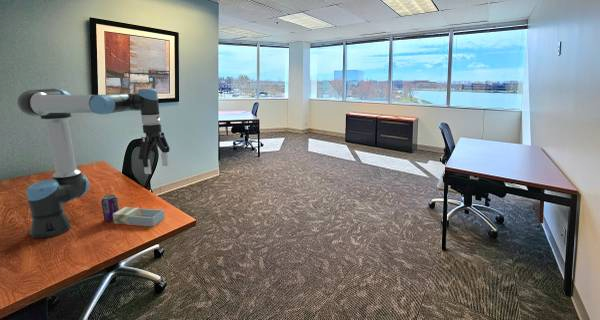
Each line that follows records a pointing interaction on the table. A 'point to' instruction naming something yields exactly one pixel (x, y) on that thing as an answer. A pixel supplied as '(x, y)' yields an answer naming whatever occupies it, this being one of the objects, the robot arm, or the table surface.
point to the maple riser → (125, 215)
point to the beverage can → (109, 206)
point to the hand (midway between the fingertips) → (157, 169)
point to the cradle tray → (147, 217)
